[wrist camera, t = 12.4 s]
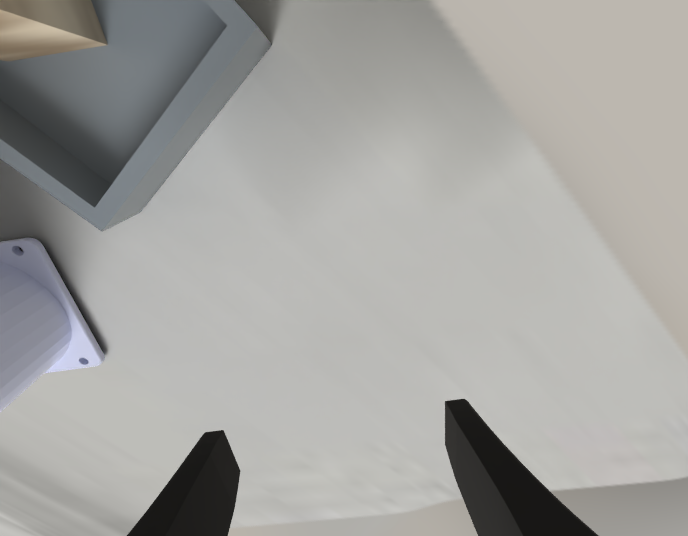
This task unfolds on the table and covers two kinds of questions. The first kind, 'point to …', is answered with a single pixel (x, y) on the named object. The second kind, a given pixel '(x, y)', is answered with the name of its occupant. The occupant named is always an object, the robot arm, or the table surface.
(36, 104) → the tray
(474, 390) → the table surface
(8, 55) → the block
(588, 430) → the table surface
